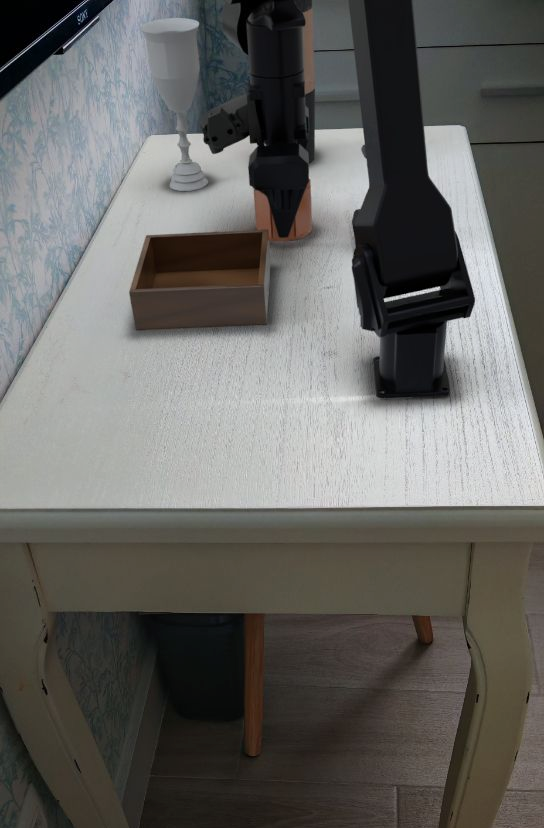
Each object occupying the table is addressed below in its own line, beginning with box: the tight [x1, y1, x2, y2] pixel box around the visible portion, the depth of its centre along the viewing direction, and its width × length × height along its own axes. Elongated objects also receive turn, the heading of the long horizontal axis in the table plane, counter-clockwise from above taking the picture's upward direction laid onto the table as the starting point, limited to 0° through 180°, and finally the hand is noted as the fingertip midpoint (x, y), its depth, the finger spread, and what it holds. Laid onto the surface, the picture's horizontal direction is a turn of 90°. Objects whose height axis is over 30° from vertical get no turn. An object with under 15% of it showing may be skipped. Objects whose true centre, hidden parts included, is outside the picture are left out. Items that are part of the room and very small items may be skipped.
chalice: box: [139, 17, 209, 192], centre depth 114 cm, size 7×7×18 cm
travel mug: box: [294, 0, 316, 164], centre depth 117 cm, size 8×8×20 cm
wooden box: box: [128, 229, 272, 331], centre depth 95 cm, size 13×13×4 cm
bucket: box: [253, 178, 313, 242], centre depth 105 cm, size 6×6×6 cm
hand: (284, 220), depth 106 cm, fingers open, 9 cm apart
